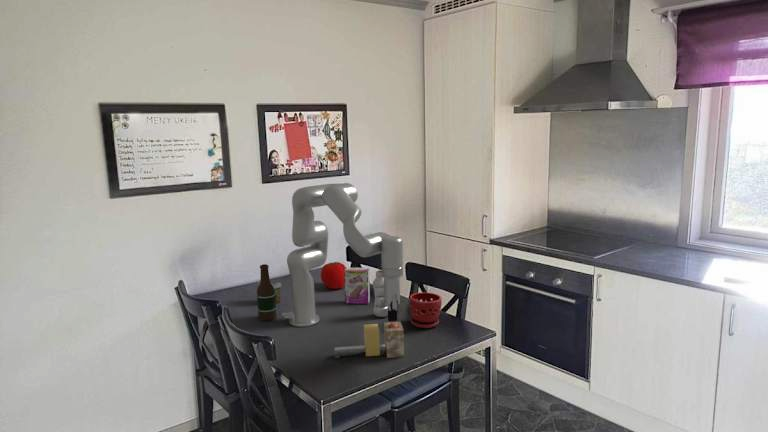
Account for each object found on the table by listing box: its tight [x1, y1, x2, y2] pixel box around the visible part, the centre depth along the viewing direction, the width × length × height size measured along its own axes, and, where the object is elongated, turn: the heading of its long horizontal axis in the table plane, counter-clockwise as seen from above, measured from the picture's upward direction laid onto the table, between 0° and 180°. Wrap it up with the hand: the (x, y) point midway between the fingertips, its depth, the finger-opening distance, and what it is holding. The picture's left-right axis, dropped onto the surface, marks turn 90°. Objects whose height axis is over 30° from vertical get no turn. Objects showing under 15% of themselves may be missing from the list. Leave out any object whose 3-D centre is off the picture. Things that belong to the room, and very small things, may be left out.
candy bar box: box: [344, 267, 371, 305], centre depth 235 cm, size 11×5×16 cm, turn 84°
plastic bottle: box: [372, 269, 388, 318], centre depth 217 cm, size 6×7×20 cm
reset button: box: [390, 323, 398, 328], centre depth 182 cm, size 3×3×4 cm
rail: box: [334, 343, 386, 359], centre depth 182 cm, size 19×2×3 cm, turn 97°
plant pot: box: [408, 291, 443, 329], centre depth 208 cm, size 13×13×12 cm
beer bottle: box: [256, 263, 277, 323], centre depth 217 cm, size 8×8×24 cm
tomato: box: [320, 261, 347, 290], centre depth 258 cm, size 16×14×14 cm
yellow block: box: [363, 323, 381, 357], centre depth 182 cm, size 5×5×10 cm
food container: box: [256, 279, 282, 305], centre depth 237 cm, size 12×6×10 cm, turn 68°
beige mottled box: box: [383, 321, 405, 359], centre depth 182 cm, size 6×8×10 cm
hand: (392, 320), depth 182 cm, fingers closed
